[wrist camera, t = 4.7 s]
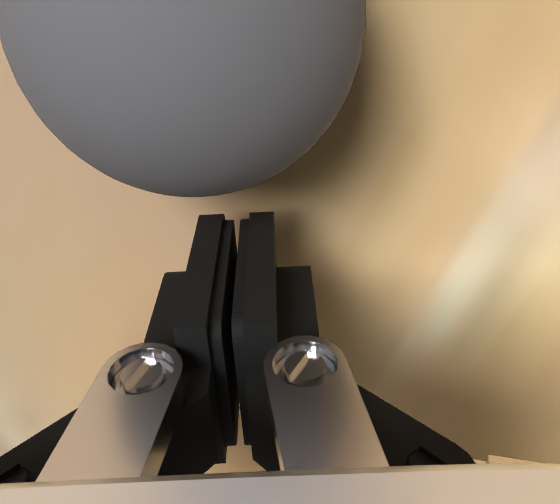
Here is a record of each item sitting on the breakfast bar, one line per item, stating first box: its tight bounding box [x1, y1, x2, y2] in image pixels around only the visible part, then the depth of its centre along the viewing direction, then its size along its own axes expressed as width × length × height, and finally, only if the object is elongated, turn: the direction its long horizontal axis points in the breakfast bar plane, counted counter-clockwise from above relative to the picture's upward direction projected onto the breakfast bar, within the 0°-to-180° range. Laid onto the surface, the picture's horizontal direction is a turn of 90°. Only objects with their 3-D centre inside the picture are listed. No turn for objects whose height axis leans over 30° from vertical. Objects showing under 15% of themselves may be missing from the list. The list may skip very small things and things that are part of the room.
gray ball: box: [0, 0, 366, 197], centre depth 8 cm, size 6×6×6 cm
